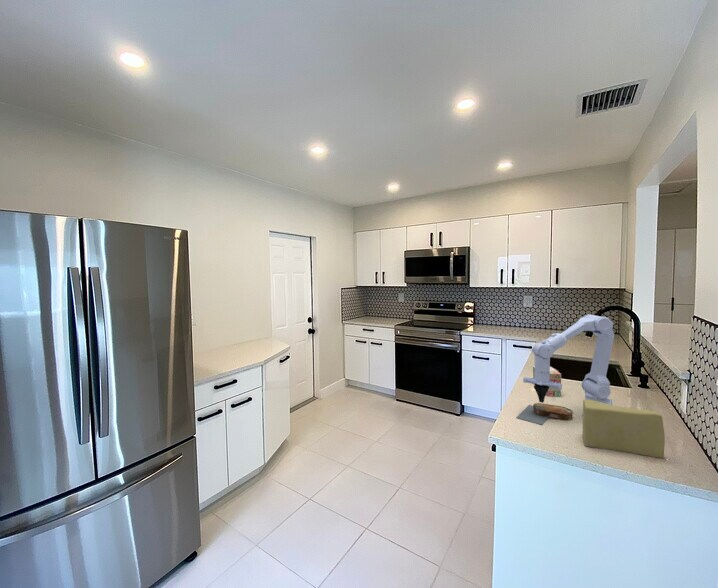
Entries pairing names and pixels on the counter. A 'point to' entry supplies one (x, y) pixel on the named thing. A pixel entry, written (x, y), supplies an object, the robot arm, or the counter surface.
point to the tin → (552, 411)
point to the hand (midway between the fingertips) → (541, 401)
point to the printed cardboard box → (554, 377)
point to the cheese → (623, 429)
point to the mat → (531, 416)
